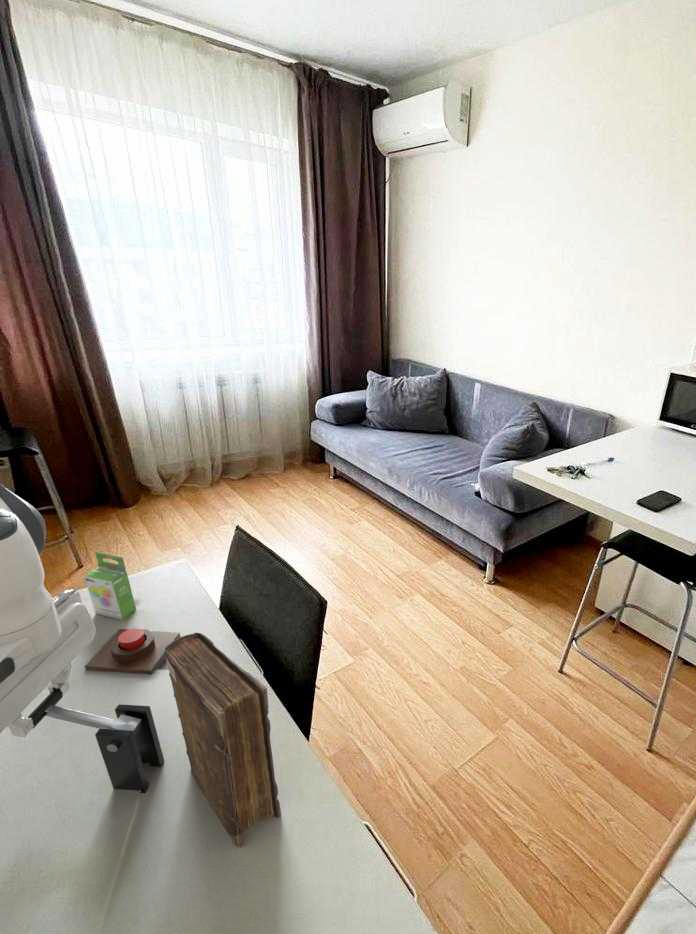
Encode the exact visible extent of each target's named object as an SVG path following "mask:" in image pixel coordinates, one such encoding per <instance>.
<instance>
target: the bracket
mask: <svg viewBox="0 0 696 934" xmlns="http://www.w3.org/2000/svg"><path fill="white" fill-rule="evenodd" d="M114 712H115V716H116V720H117V719H118V718H119V717H120V715H121V714H123V715H127V716H131V717H135V718H139V719H142V720H141V730H140V732H139V733H138V735H137V736H136V738H135V737H134V734H133V731H132V730H117V729H102V728H100V729H97V732H95V734H94V736H95V739H96V742H97V744H98V748H99V750H100V753H101V756H102V759H103V762H104V765H105V768H106V771H107V775H108V777H109V779H110V782H111V785H112V789H113V790H120V791H121V790H123V791H136V792H137V791H138V792H139V794H146V793H147V792H148V789H150V785H149V782H148V779H147V774H146V771H145V768H144V765H148V767H153V768H161V767H162V766H163V764H164V763H165V758H164V754H163V750H162V747H161V743H160V739H159V735H158V732H157V728H156V723H155V721H154V715H153V713H152V709H151V706H150V705H142V704H141V705H140V704H139V705H138V704H122V703H119V704H117V706H116V707H115V709H114Z"/></svg>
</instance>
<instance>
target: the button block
mask: <svg viewBox="0 0 696 934" xmlns="http://www.w3.org/2000/svg"><path fill="white" fill-rule="evenodd" d="M130 629H131V628H129V629H128V628H119V629H118V630H116V632H114V634H113V635H112V636H111V637H110V638H109V639H108V640H107V641H106V642H105V644H103V646H102V647H101V648H100V649H99V650H98V651H97V652H96V653H95V654H94V655H93V656H92V657H91V658H90V659H89V661H87V663H86V664H84V669H85V671H94V672H106V673H107V672H108V673H122V674H123V673H126V674H139V675H153V674H154V672H155V671H156V670H161V669H162V668H163V667H164V666H165V664H166V663H167V660H166V656H165V651H164V650H165V647H166V646H167V645H169V644H170V643H172V642H173V641H174V640H176V639H178V638H181V637H182V636H181V632H176V631H175V632H174V631H160V630H159V631H158V630H150V629H149V628H140V629H141V630H143V633H144V637H145V642H144V643H143V644H142V645H141V646H139V647H137V648H134V649H131V650H123V649H121V647H120V644H119V640H118V638H119V636H120V635H121V634H122V633H123V632H125V631H127V630H130Z"/></svg>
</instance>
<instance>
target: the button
mask: <svg viewBox="0 0 696 934" xmlns="http://www.w3.org/2000/svg"><path fill="white" fill-rule="evenodd" d="M129 629H130V630H127V631H125V632H123V633H122V634H121V635H120V636H119V638H118V640H119V644H120V647H121V649H123V650H131V649H134V648H137V647H139V646H141V645H142V644H143V643H144V642H145V637H144V633H143V630H141V629H142V628H137V627H136V628H129Z"/></svg>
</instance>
